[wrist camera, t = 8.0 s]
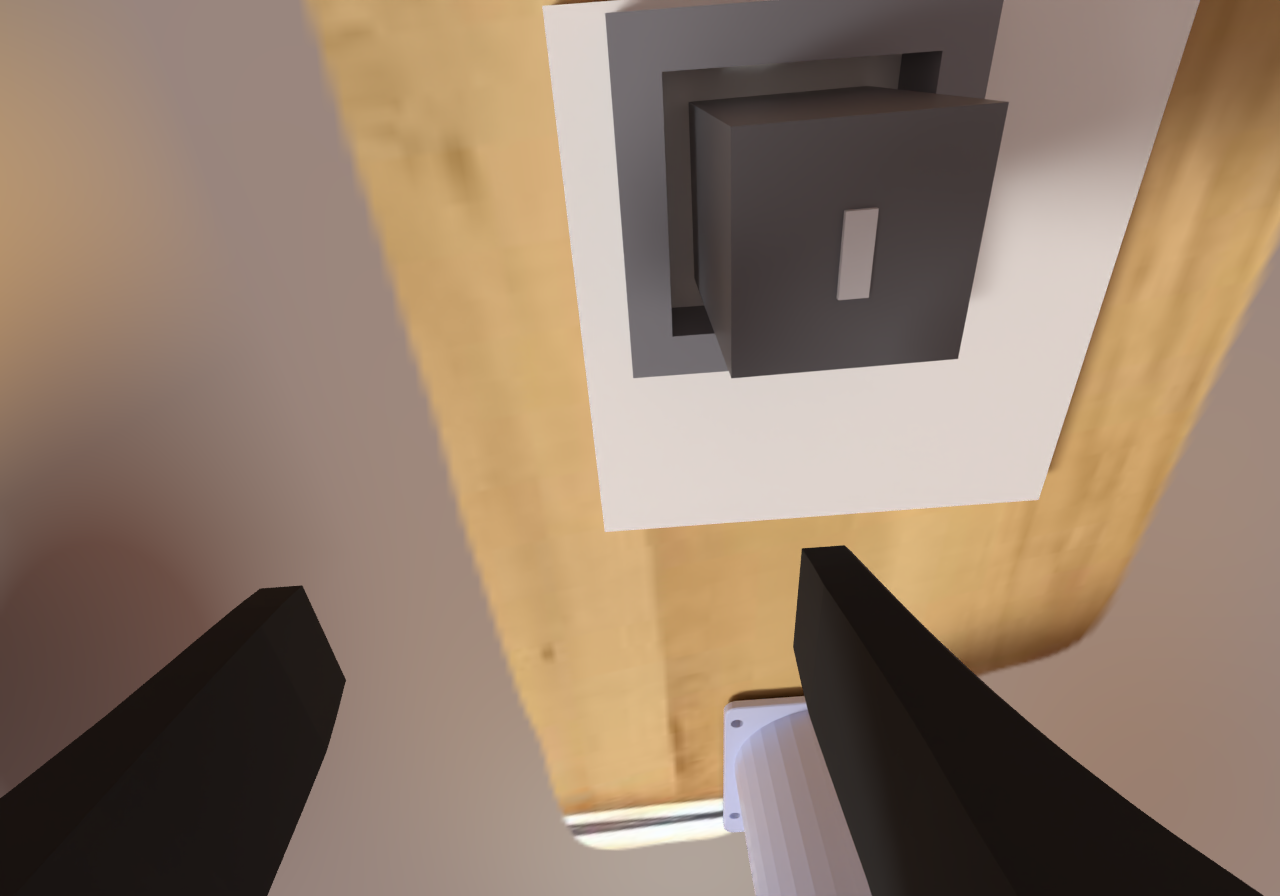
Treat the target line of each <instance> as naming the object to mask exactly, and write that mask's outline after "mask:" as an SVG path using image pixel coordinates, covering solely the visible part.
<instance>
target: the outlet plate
mask: <svg viewBox="0 0 1280 896" xmlns="http://www.w3.org/2000/svg"><path fill="white" fill-rule="evenodd" d="M1199 2H1200V0H615V1H601V2H588V3H575V4H562V5H549V6H542V7H543V15H544V24H545V32H546V41H547V49H548V57H549V66H550V74H551V83H552V91H553V99H554V108H555V116H556V125H557V133H558V141H559V150H560V158H561V167H562V175H563V183H564V192H565V200H566V209H567V217H568V225H569V234H570V242H571V251H572V259H573V267H574V276H575V284H576V293H577V301H578V309H579V318H580V326H581V335H582V343H583V351H584V360H585V368H586V377H587V385H588V394H589V402H590V410H591V419H592V427H593V436H594V444H595V452H596V461H597V469H598V478H599V486H600V494H601V503H602V511H603V520H604V528H605V532H610V531H624V530H637V529H651V528H664V527H678V526H691V525H705V524H718V523H732V522H745V521H759V520H772V519H786V518H799V517H813V516H826V515H840V514H853V513H867V512H880V511H894V510H907V509H921V508H934V507H948V506H961V505H975V504H989V503H1002V502H1016V501H1029V500H1039V497H1040V494H1041V491H1042V487H1043V484H1044V481H1045V478H1046V475H1047V472H1048V469H1049V466H1050V463H1051V460H1052V457H1053V453H1054V450H1055V447H1056V444H1057V441H1058V438H1059V435H1060V432H1061V429H1062V426H1063V423H1064V419H1065V416H1066V413H1067V410H1068V407H1069V404H1070V401H1071V398H1072V395H1073V392H1074V389H1075V385H1076V382H1077V379H1078V376H1079V373H1080V370H1081V367H1082V364H1083V361H1084V358H1085V355H1086V351H1087V348H1088V345H1089V342H1090V339H1091V336H1092V333H1093V330H1094V327H1095V324H1096V321H1097V317H1098V314H1099V311H1100V308H1101V305H1102V302H1103V299H1104V296H1105V293H1106V290H1107V287H1108V283H1109V280H1110V277H1111V274H1112V271H1113V268H1114V265H1115V262H1116V259H1117V256H1118V253H1119V249H1120V246H1121V243H1122V240H1123V237H1124V234H1125V231H1126V228H1127V225H1128V222H1129V219H1130V215H1131V212H1132V209H1133V206H1134V203H1135V200H1136V197H1137V194H1138V191H1139V188H1140V185H1141V181H1142V178H1143V175H1144V172H1145V169H1146V166H1147V163H1148V160H1149V157H1150V154H1151V151H1152V147H1153V144H1154V141H1155V138H1156V135H1157V132H1158V129H1159V126H1160V123H1161V120H1162V117H1163V113H1164V110H1165V107H1166V104H1167V101H1168V98H1169V95H1170V92H1171V89H1172V86H1173V83H1174V79H1175V76H1176V73H1177V70H1178V67H1179V64H1180V61H1181V58H1182V55H1183V52H1184V49H1185V45H1186V42H1187V39H1188V36H1189V33H1190V30H1191V27H1192V24H1193V21H1194V18H1195V15H1196V12H1197V8H1198V5H1199ZM859 86H873V87H882V88H891V89H900V90H909V91H917V92H926V93H935V94H944V95H953V96H962V97H971V98H979V99H988V100H997V101H1006V102H1009V104H1008V110H1007V115H1006V120H1005V125H1004V130H1003V135H1002V140H1001V145H1000V150H999V155H998V160H997V165H996V170H995V175H994V180H993V185H992V190H991V195H990V200H989V205H988V210H987V215H986V220H985V225H984V230H983V235H982V241H981V246H980V251H979V256H978V261H977V266H976V271H975V276H974V281H973V286H972V291H971V296H970V301H969V306H968V311H967V316H966V321H965V326H964V331H963V336H962V341H961V346H960V351H959V356H958V359H952V360H940V361H929V362H917V363H905V364H894V365H882V366H871V367H859V368H847V369H836V370H824V371H812V372H801V373H789V374H777V375H766V376H754V377H743V378H731V376H730V373H729V371H728V368H727V365H726V363H725V360H724V357H723V354H722V352H721V349H720V346H719V344H718V341H717V338H716V336H715V333H714V330H713V327H712V325H711V322H710V319H709V317H708V314H707V311H706V309H705V306H704V303H703V300H702V298H701V295H700V292H699V290H698V287H697V284H696V282H695V279H694V254H693V224H692V193H691V163H690V133H689V102H692V101H704V100H715V99H726V98H737V97H748V96H759V95H770V94H781V93H793V92H804V91H815V90H826V89H837V88H848V87H859Z"/></svg>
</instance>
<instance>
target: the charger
mask: <svg viewBox="0 0 1280 896" xmlns="http://www.w3.org/2000/svg"><path fill="white" fill-rule="evenodd" d="M1008 104H1009V102H1006V101H997V100H988V99H979V98H971V97H962V96H953V95H944V94H935V93H926V92H917V91H909V90H900V89H891V88H882V87H873V86H859V87H848V88H837V89H826V90H815V91H804V92H793V93H781V94H770V95H759V96H748V97H737V98H726V99H715V100H704V101H692V102H689V133H690V163H691V193H692V224H693V254H694V279H695V282H696V284H697V287H698V290H699V292H700V295H701V298H702V300H703V303H704V306H705V309H706V311H707V314H708V317H709V319H710V322H711V325H712V327H713V330H714V333H715V336H716V338H717V341H718V344H719V346H720V349H721V352H722V354H723V357H724V360H725V363H726V365H727V368H728V371H729V373H730V376H731V378H743V377H754V376H766V375H777V374H789V373H801V372H812V371H824V370H836V369H847V368H859V367H871V366H882V365H894V364H905V363H917V362H929V361H940V360H952V359H958V356H959V351H960V346H961V341H962V336H963V331H964V326H965V321H966V316H967V311H968V306H969V301H970V296H971V291H972V286H973V281H974V276H975V271H976V266H977V261H978V256H979V251H980V246H981V241H982V235H983V230H984V225H985V220H986V215H987V210H988V205H989V200H990V195H991V190H992V185H993V180H994V175H995V170H996V165H997V160H998V155H999V150H1000V145H1001V140H1002V135H1003V130H1004V125H1005V120H1006V115H1007V110H1008Z"/></svg>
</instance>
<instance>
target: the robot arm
mask: <svg viewBox="0 0 1280 896" xmlns="http://www.w3.org/2000/svg"><path fill="white" fill-rule="evenodd" d="M793 648H794V653H795V657H796V662H797V666H798V671H799V675H800V680H801V684H802V688H803V692H804V696H796V697H782V698H768V699H755V700H741V701H733V702H730V703H728V704H727V705H726V706H725V708H724V765H723V823H724V828H725V830H727V831H729V832H745V837H746V843H747V849H748V855H749V861H750V867H751V872H752V878H753V884H754V890H755V896H1263V895H1262V894H1260V893H1259V892H1258V891H1256V890H1255V889H1253V888H1251V887H1250V886H1249V885H1247V884H1246V883H1244V882H1243V881H1242V880H1240V879H1239V878H1237V877H1236V876H1234V875H1233V874H1231V873H1230V872H1228V871H1227V870H1225V869H1224V868H1222V867H1221V866H1220V865H1218V864H1217V863H1215V862H1214V861H1212V860H1211V859H1209V858H1208V857H1206V856H1205V855H1204V854H1202V853H1200V852H1199V851H1198V850H1196V849H1195V848H1193V847H1192V846H1190V845H1189V844H1187V843H1186V842H1184V841H1183V840H1182V839H1180V838H1179V837H1177V836H1176V835H1174V834H1173V833H1171V832H1170V831H1169V830H1167V829H1166V828H1165V827H1163V826H1162V825H1161V824H1159V823H1158V822H1156V821H1155V820H1154V819H1152V818H1151V817H1149V816H1148V815H1147V814H1145V813H1144V812H1143V811H1141V810H1140V809H1138V808H1137V807H1136V806H1134V805H1133V804H1132V803H1130V802H1129V801H1128V800H1126V799H1125V798H1124V797H1122V796H1121V795H1120V794H1119V793H1117V792H1116V791H1115V790H1113V789H1112V788H1111V787H1109V786H1108V785H1107V784H1106V783H1104V782H1103V781H1101V780H1100V779H1099V778H1098V777H1096V776H1095V775H1094V774H1092V773H1091V772H1090V771H1089V770H1087V769H1086V768H1085V767H1083V766H1082V765H1081V764H1080V763H1078V762H1077V761H1076V760H1074V759H1073V758H1072V757H1071V756H1069V755H1068V754H1067V753H1066V752H1064V751H1063V750H1062V749H1060V747H1058V746H1057V745H1056V744H1054V743H1053V742H1052V741H1051V740H1049V739H1048V738H1047V737H1046V736H1045V735H1044V734H1043V733H1041V732H1040V731H1039V730H1038V729H1036V728H1035V727H1034V726H1033V725H1032V724H1031V723H1029V722H1028V721H1027V720H1026V719H1025V718H1024V717H1023V716H1021V715H1020V714H1019V713H1018V712H1017V711H1016V710H1014V709H1013V708H1012V707H1011V706H1010V705H1009V704H1007V703H1006V702H1005V701H1004V700H1003V699H1002V698H1001V697H999V696H998V695H997V694H996V693H995V692H994V691H993V690H991V689H990V688H989V687H988V686H987V685H986V684H985V683H984V682H983V681H982V680H980V679H979V678H978V677H977V676H976V675H975V674H974V673H973V672H972V671H971V670H969V669H968V668H967V667H966V666H965V665H964V664H963V663H962V662H961V661H960V660H959V659H958V658H957V657H956V656H955V655H954V654H953V653H952V652H950V651H949V650H948V649H947V648H946V647H945V646H944V645H943V644H942V643H941V642H940V641H939V640H938V639H937V638H936V637H935V636H934V635H933V634H932V633H930V632H929V631H928V630H927V629H926V628H925V627H924V626H923V625H922V624H921V623H920V622H919V621H918V620H917V619H916V618H915V617H914V616H913V615H912V614H911V613H910V612H909V611H908V610H907V609H906V608H905V607H904V606H903V605H902V604H901V603H900V602H899V601H898V600H897V599H896V598H895V596H894V595H893V594H892V593H891V592H890V591H889V590H888V589H887V588H886V587H885V586H884V585H883V584H882V583H881V582H880V581H879V580H878V579H877V578H876V577H875V576H874V575H873V574H872V573H871V572H870V571H869V570H868V568H867V567H866V566H865V565H864V564H863V563H862V562H861V561H860V560H859V559H858V558H857V557H856V556H855V555H854V554H853V553H852V552H851V551H850V550H849V549H848V548H847V547H846V546H845V545H844V546H830V547H817V548H803V549H802V554H801V566H800V577H799V588H798V599H797V611H796V622H795V633H794V645H793ZM345 682H346V679H345V677H344V675H343V673H342V671H341V669H340V666H339V664H338V662H337V660H336V658H335V656H334V653H333V651H332V649H331V647H330V645H329V643H328V640H327V638H326V636H325V634H324V632H323V629H322V627H321V625H320V623H319V621H318V619H317V616H316V614H315V612H314V610H313V608H312V606H311V603H310V602H309V599H308V597H307V595H306V593H305V590H304V589H303V586H289V587H278V588H277V587H276V588H262V589H259V590H258V591H257V592H255V593H254V594H253V595H251V596H250V597H249V598H247V599H246V600H245V601H243V602H242V603H241V604H240V605H238V606H237V607H236V608H235V609H233V610H232V611H231V612H230V613H229V614H227V615H226V616H225V617H224V618H222V619H221V620H220V621H219V622H218V623H216V624H215V625H214V626H213V627H212V628H210V629H209V630H208V631H207V632H206V633H204V634H203V635H202V636H201V637H200V638H199V639H197V640H196V641H195V642H194V643H192V644H191V645H190V646H189V647H188V648H186V649H185V650H184V651H183V652H182V653H181V654H179V655H178V656H177V657H176V658H175V659H173V660H172V661H171V662H170V663H169V664H168V665H166V666H165V667H164V668H163V669H162V670H160V671H159V672H158V673H157V674H156V675H154V676H153V677H152V678H151V679H150V680H148V681H147V682H146V683H145V684H143V685H142V686H141V687H140V688H139V689H137V690H136V691H135V692H134V693H133V694H131V695H130V696H129V697H128V698H127V699H126V700H124V701H123V702H122V703H121V704H119V705H118V706H117V707H116V708H115V709H113V710H112V711H111V712H110V713H108V715H106V716H105V717H104V718H102V719H101V720H100V721H99V722H97V723H96V724H95V725H94V726H92V727H91V728H90V729H88V730H87V731H86V732H85V733H83V734H82V735H81V736H79V737H78V738H77V739H76V740H74V741H73V742H72V743H71V744H69V745H68V746H67V747H65V748H64V749H63V750H62V751H60V752H59V753H58V754H57V755H55V756H54V757H53V758H52V759H50V760H49V761H48V762H46V763H45V764H44V765H43V766H41V767H40V768H39V769H37V770H36V771H35V772H34V773H32V774H31V775H30V776H29V777H27V778H26V779H25V780H24V781H22V782H21V783H20V784H18V785H17V786H16V787H15V788H13V789H12V790H11V791H9V792H8V793H7V794H6V795H4V796H3V797H1V798H0V896H267V895H268V893H269V890H270V888H271V885H272V883H273V880H274V878H275V876H276V873H277V871H278V869H279V866H280V864H281V861H282V859H283V857H284V854H285V852H286V849H287V847H288V844H289V842H290V839H291V837H292V835H293V833H294V830H295V828H296V825H297V823H298V820H299V818H300V816H301V813H302V811H303V808H304V806H305V803H306V801H307V799H308V796H309V794H310V791H311V789H312V786H313V783H314V781H315V779H316V776H317V774H318V771H319V769H320V766H321V764H322V761H323V759H324V756H325V754H326V751H327V748H328V745H329V741H330V738H331V734H332V731H333V727H334V724H335V720H336V717H337V713H338V709H339V705H340V701H341V697H342V693H343V689H344V685H345Z"/></svg>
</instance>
